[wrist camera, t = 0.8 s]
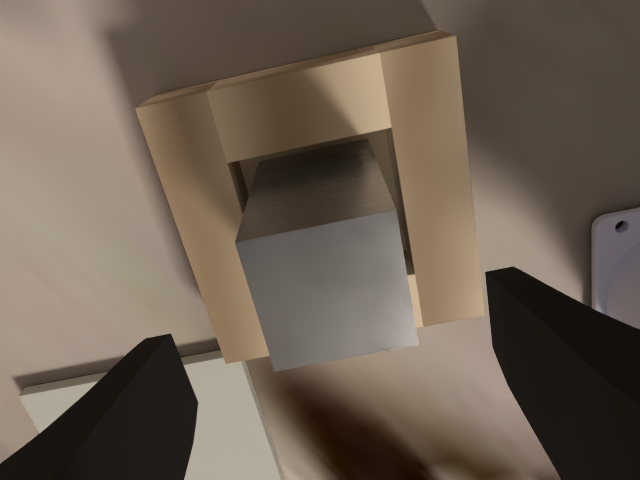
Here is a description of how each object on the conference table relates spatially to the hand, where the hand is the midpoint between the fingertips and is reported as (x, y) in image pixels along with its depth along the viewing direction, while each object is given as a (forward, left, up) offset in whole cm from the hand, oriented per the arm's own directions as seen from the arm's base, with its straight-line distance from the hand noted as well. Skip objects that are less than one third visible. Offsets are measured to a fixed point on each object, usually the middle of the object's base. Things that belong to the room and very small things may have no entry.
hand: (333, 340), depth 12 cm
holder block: (0, 0, -9) cm, 9 cm away
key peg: (0, 0, -9) cm, 9 cm away
